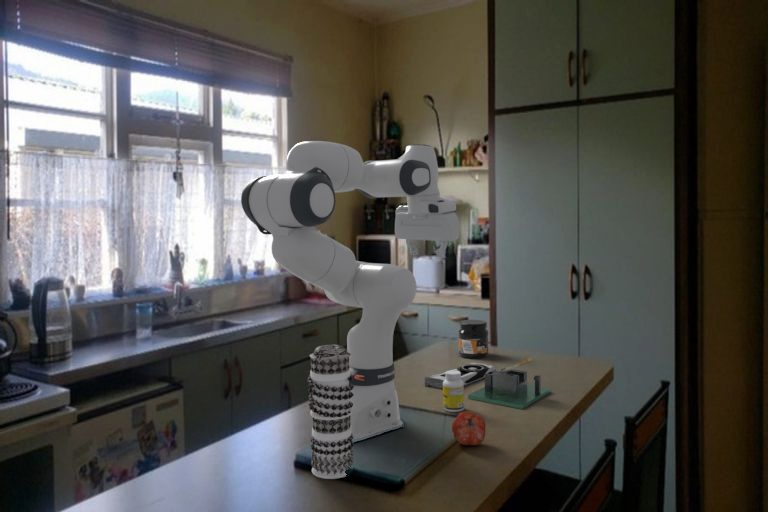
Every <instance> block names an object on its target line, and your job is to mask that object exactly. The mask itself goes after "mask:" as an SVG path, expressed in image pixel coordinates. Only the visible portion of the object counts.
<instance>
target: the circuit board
mask: <svg viewBox="0 0 768 512" xmlns="http://www.w3.org/2000/svg"><path fill="white" fill-rule="evenodd" d="M506 368H507V367H503V368H501V370H500V371H502V370H504V369H506ZM500 371H499V370H496V371H492V374H493V375H492V374H485V378H484V387H481V388H480V389H478V390H475V391H474V392H471V393H469V394H468V395H467V398H468V399H470V400H474V401H478V402H479V401H480V402H485V403H490V404H494V405H498V406H499V405H500V406H504V407H509V408H515V409H519V410H524V409H525V408H527V407H529V406H530V405H532V404H534V403H535V402H537V401H539V400H541V399H542V398H544V397H545V396H547V395H549V394H550V393H552V391H551V388H549V387H543V386H542V385H541V380H542V379H541V378H542V377H541V375H539V374H536V375H534V376H533V381H534V385H531V384H528V371H526V370H521V369H515V368H513V369H511V370H509V371H507V372H505V373H501V372H500Z"/></svg>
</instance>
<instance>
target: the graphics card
mask: <svg viewBox="0 0 768 512" xmlns="http://www.w3.org/2000/svg"><path fill="white" fill-rule="evenodd" d="M452 370H457V371H460V372H461V378H460V379H461V380H462V381H463V382H464V387H466V386H468V384H469V385H471V384H473V383H477V382H479V381H481V380H485V374H492V371H497V370H496V368H495V366H494V365H487V364H485V363H477V362H471V363H467V364H465V365H462V366H460V367H456V368H454V369H452ZM445 372H446V371H445ZM445 372H442V373H439V374H438V373H437V374H433V375H430V376H426V377H424V386H425V387H432V388H436V389H442V390H443V381H444V380H446V378H445ZM429 385H430V386H429Z"/></svg>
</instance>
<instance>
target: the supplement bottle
mask: <svg viewBox="0 0 768 512" xmlns="http://www.w3.org/2000/svg"><path fill="white" fill-rule="evenodd" d="M445 378H446V380H444V381H443V389H442V399H443V400H442V405H443V407H442V408H443V410H444V411H446V412H449V413H459V412H460V413H461V412H463V411H464V410H465V391H464V390H465V386H464V382H463V381H462V380H461V379H460V378H461V372H460V371H457V370H453V369H450V370H446V371H445Z"/></svg>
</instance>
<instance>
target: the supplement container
mask: <svg viewBox="0 0 768 512" xmlns="http://www.w3.org/2000/svg"><path fill="white" fill-rule="evenodd" d="M457 332H458V333H457V334H458V355H460V357H463V358H465V359H483V357H484V358H486V357H488V356H489V354H490V353H489V333H490V332H489V330H488V322H487V320H483V319H464V320H460V321H459V329H458V331H457Z"/></svg>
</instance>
